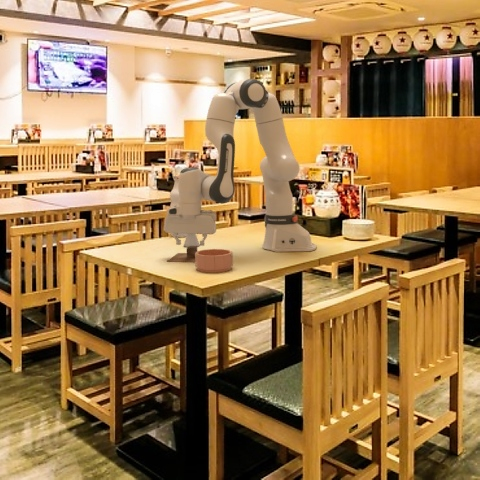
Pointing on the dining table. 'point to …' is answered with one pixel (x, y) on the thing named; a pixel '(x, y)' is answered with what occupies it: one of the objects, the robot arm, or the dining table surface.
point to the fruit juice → (175, 200)
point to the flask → (191, 240)
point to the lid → (185, 255)
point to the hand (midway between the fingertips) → (190, 244)
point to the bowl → (214, 260)
